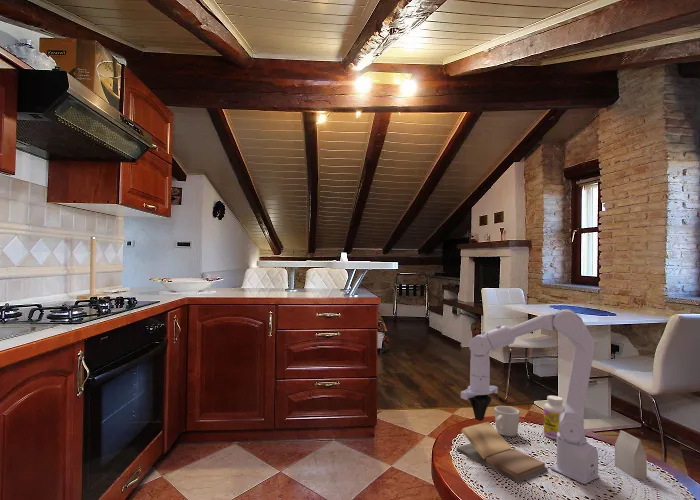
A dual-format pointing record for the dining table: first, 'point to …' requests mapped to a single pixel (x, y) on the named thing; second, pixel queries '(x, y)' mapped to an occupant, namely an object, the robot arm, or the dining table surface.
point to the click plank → (485, 439)
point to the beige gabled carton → (630, 455)
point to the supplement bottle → (552, 416)
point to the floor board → (508, 463)
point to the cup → (507, 420)
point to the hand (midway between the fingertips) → (479, 419)
